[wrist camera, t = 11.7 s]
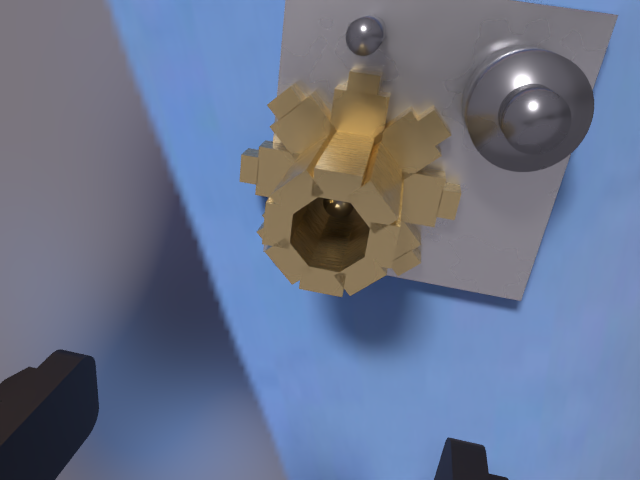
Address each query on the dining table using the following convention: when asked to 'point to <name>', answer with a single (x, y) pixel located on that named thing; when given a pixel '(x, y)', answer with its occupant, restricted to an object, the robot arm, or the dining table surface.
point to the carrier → (466, 111)
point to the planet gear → (348, 185)
